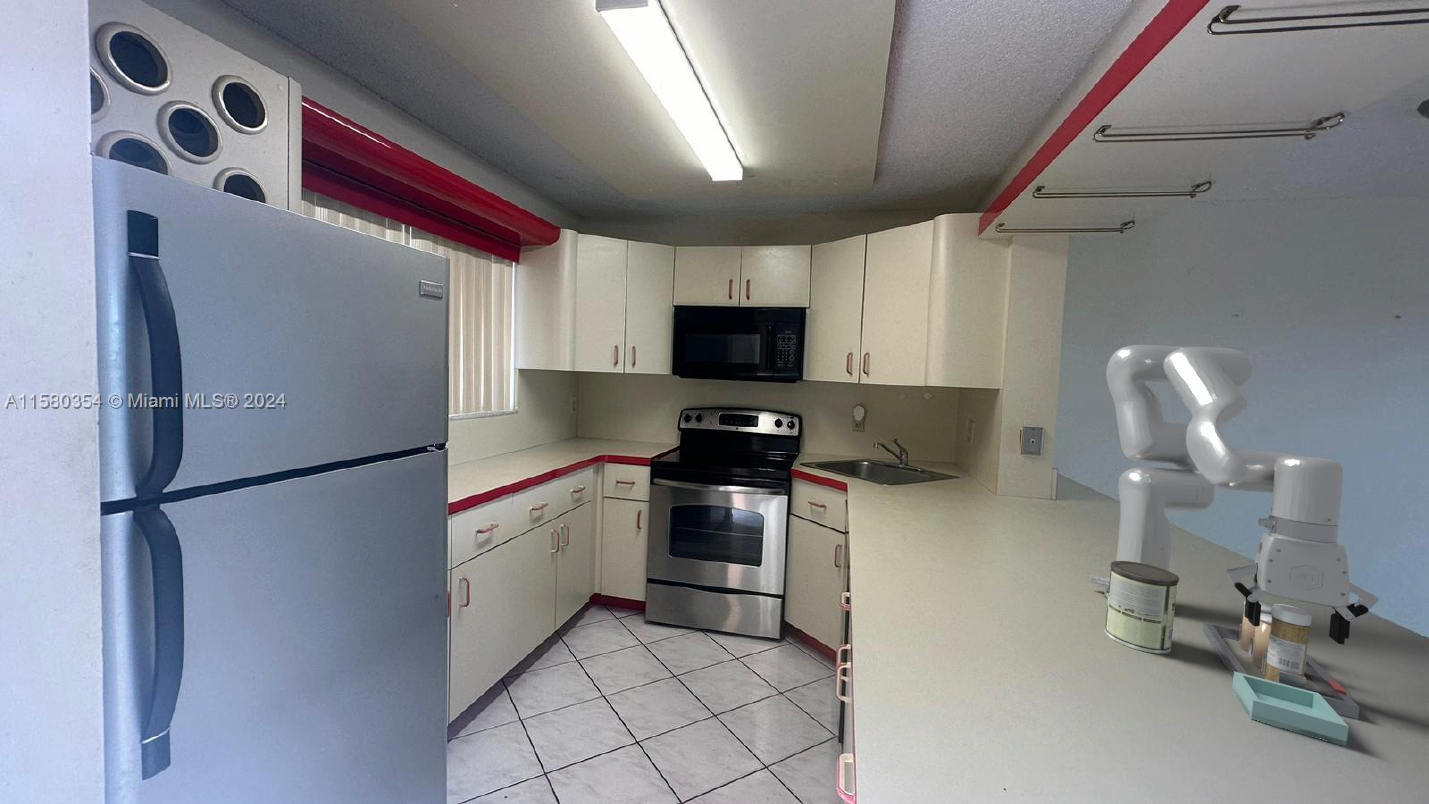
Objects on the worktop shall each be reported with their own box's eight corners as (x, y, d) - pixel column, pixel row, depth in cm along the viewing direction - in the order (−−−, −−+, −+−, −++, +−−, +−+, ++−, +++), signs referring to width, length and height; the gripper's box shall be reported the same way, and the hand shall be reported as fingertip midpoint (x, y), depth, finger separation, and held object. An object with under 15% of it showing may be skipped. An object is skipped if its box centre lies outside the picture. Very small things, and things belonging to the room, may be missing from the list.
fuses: (1255, 667, 94) (1260, 619, 93) (1236, 642, 103) (1241, 598, 103) (1288, 676, 92) (1294, 626, 91) (1265, 649, 101) (1271, 604, 101)
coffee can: (1098, 622, 109) (1104, 556, 108) (1160, 635, 104) (1167, 567, 104) (1111, 645, 99) (1118, 572, 99) (1180, 660, 95) (1188, 584, 94)
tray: (1251, 719, 78) (1253, 700, 78) (1232, 688, 87) (1234, 671, 86) (1346, 747, 73) (1348, 726, 73) (1316, 711, 81) (1318, 693, 81)
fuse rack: (1239, 687, 87) (1241, 667, 87) (1202, 631, 108) (1204, 614, 108) (1357, 719, 80) (1360, 697, 80) (1294, 652, 101) (1296, 634, 100)
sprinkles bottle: (1305, 689, 88) (1314, 611, 87) (1299, 697, 85) (1309, 617, 85) (1266, 675, 92) (1275, 600, 91) (1259, 682, 89) (1269, 605, 88)
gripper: (1237, 525, 88) (1229, 624, 89) (1395, 547, 79) (1385, 658, 79) (1225, 517, 95) (1217, 610, 95) (1369, 536, 85) (1360, 639, 86)
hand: (1293, 632), depth 87 cm, fingers open, 9 cm apart
